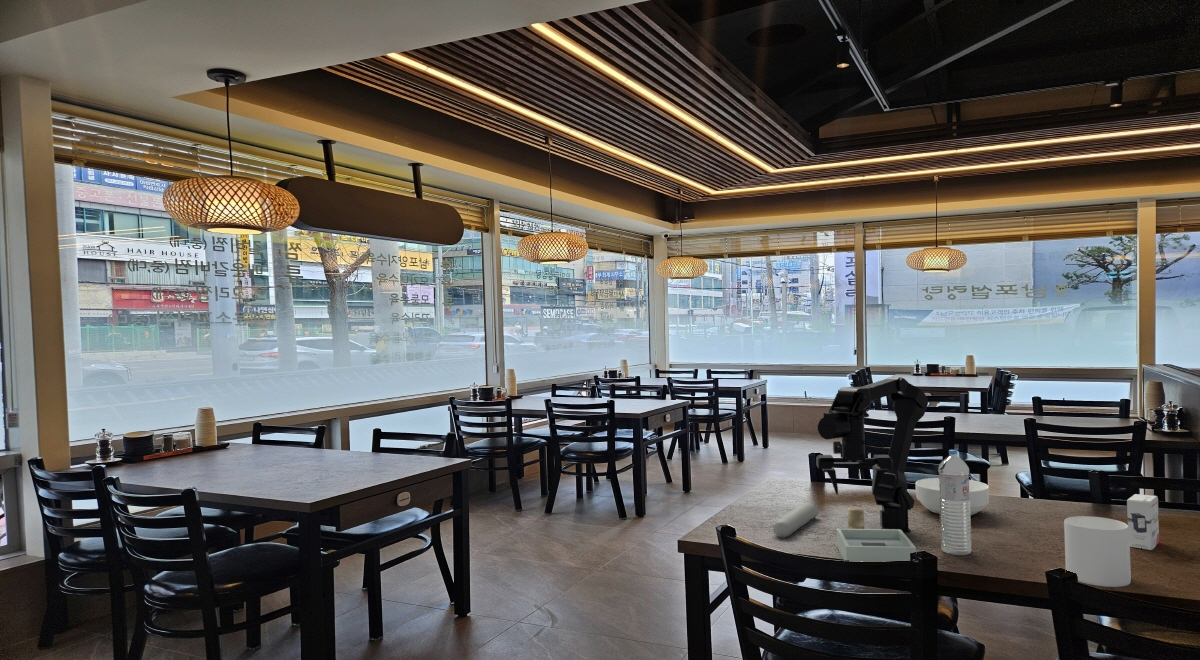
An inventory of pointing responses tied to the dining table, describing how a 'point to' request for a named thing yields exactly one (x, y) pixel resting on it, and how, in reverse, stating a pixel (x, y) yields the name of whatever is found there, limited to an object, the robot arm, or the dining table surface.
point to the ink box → (1143, 521)
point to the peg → (855, 518)
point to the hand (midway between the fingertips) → (855, 494)
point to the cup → (1098, 550)
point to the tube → (795, 519)
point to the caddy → (874, 545)
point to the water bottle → (954, 505)
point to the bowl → (931, 493)
